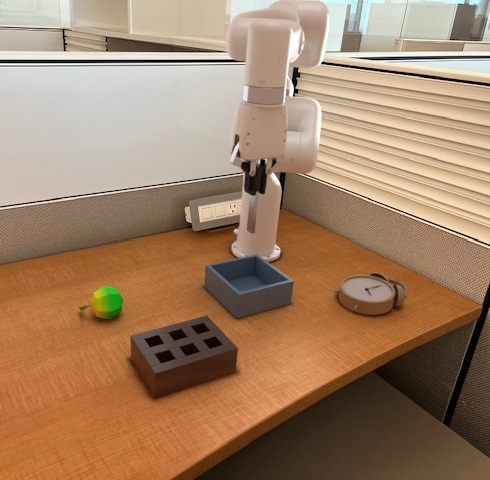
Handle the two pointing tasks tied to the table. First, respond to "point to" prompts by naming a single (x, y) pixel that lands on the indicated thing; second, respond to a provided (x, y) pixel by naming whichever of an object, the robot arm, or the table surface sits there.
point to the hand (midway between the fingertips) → (254, 192)
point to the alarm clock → (371, 293)
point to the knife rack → (182, 355)
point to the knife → (254, 201)
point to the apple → (105, 302)
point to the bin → (248, 285)
